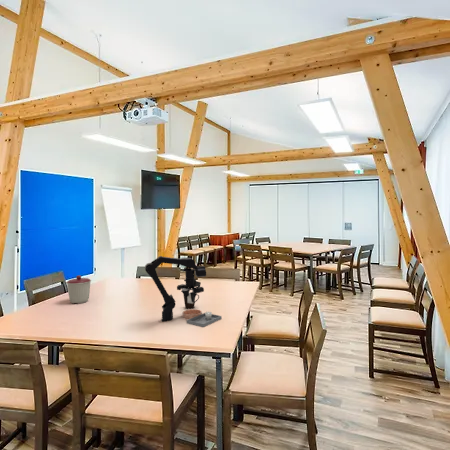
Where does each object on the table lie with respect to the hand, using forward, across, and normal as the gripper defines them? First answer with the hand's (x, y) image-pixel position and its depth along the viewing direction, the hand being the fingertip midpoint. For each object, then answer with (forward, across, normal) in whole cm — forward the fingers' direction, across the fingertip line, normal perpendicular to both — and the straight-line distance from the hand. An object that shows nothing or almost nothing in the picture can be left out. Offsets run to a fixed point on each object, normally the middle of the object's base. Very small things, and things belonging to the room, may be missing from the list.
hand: (190, 301), depth 208 cm
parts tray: (+10, -13, +2) cm, 17 cm away
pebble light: (0, 0, 0) cm, 1 cm away
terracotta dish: (+11, 0, -2) cm, 11 cm away
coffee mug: (+11, +15, -18) cm, 26 cm away
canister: (+11, +102, +17) cm, 104 cm away
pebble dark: (+10, -13, -2) cm, 16 cm away
